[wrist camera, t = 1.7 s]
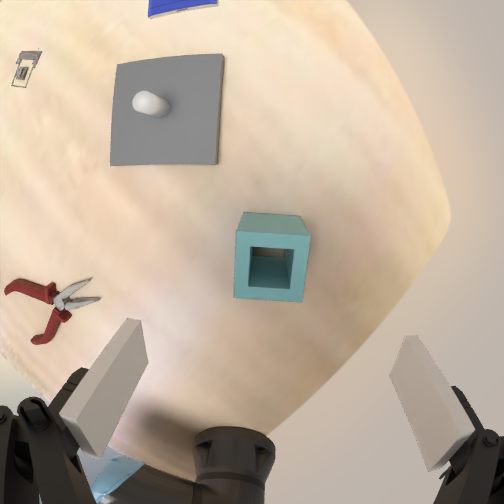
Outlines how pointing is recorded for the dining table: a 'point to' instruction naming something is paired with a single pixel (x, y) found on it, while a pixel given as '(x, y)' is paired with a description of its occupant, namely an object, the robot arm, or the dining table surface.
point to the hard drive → (176, 6)
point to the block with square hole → (271, 268)
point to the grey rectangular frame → (22, 70)
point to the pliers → (51, 297)
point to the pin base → (184, 116)
